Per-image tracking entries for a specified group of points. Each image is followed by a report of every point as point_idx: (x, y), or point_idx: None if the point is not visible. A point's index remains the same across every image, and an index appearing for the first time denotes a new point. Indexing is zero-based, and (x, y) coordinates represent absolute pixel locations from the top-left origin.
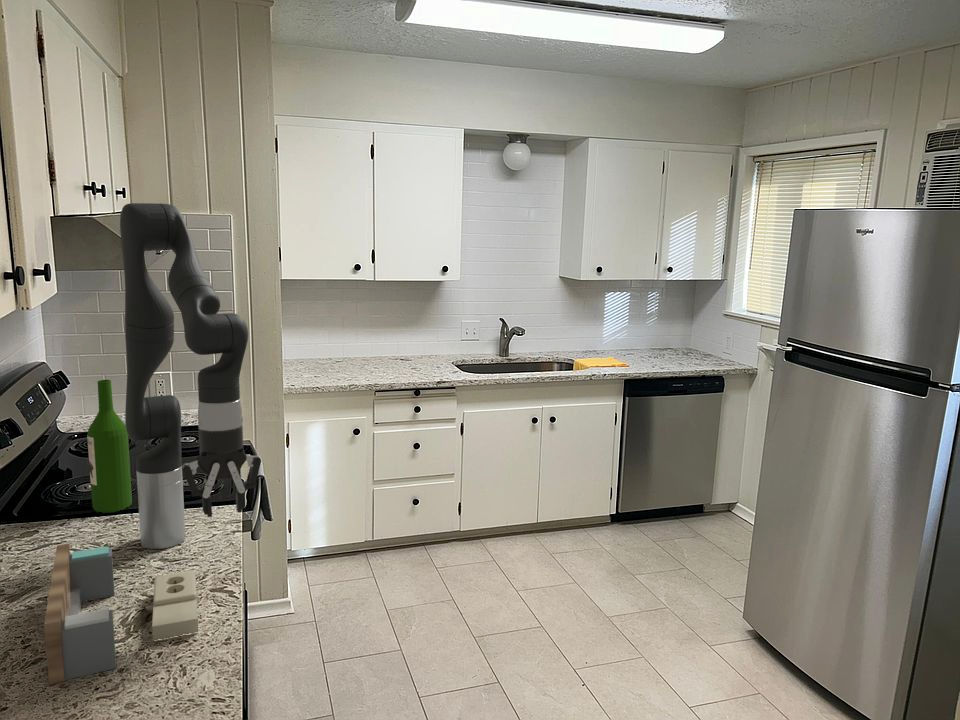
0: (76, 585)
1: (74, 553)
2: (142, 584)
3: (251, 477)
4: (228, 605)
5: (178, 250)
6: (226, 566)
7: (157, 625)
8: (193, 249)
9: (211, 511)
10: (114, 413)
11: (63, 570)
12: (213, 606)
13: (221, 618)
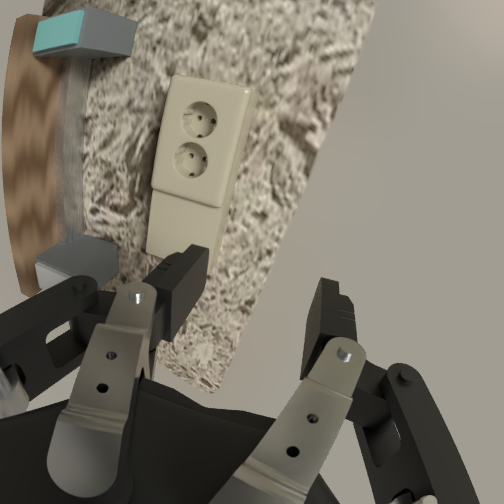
0: (68, 59)
1: (38, 30)
2: (176, 30)
3: (369, 466)
4: (288, 207)
5: None
6: (346, 38)
7: (152, 253)
8: None
9: (194, 302)
10: None
11: (9, 134)
12: (263, 192)
13: (261, 242)
